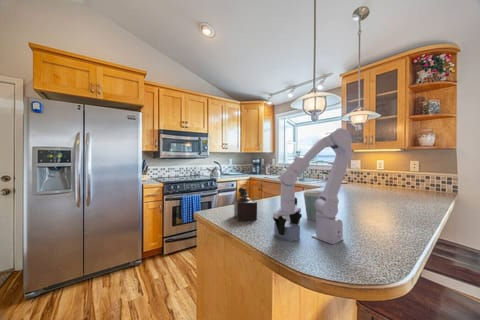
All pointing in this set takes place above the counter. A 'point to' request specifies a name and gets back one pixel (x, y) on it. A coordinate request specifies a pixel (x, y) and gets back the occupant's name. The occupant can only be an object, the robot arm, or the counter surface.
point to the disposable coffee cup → (311, 203)
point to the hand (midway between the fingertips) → (287, 232)
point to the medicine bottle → (288, 215)
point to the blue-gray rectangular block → (289, 231)
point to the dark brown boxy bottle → (245, 207)
